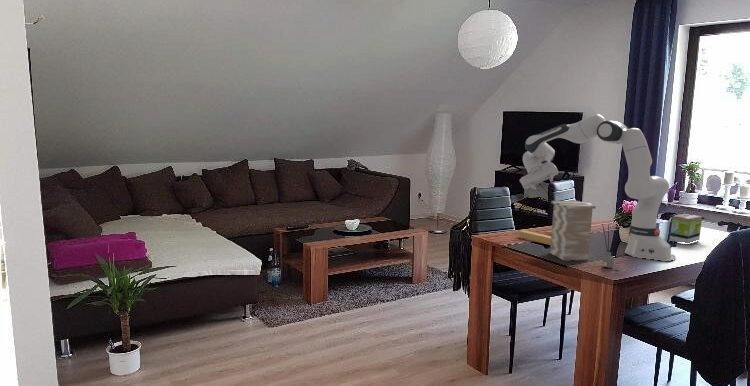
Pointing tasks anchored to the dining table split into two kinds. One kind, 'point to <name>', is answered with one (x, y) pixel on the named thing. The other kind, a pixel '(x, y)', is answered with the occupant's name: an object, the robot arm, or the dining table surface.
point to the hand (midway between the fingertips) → (543, 184)
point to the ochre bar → (535, 237)
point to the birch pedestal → (571, 230)
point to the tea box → (685, 228)
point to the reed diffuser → (609, 253)
